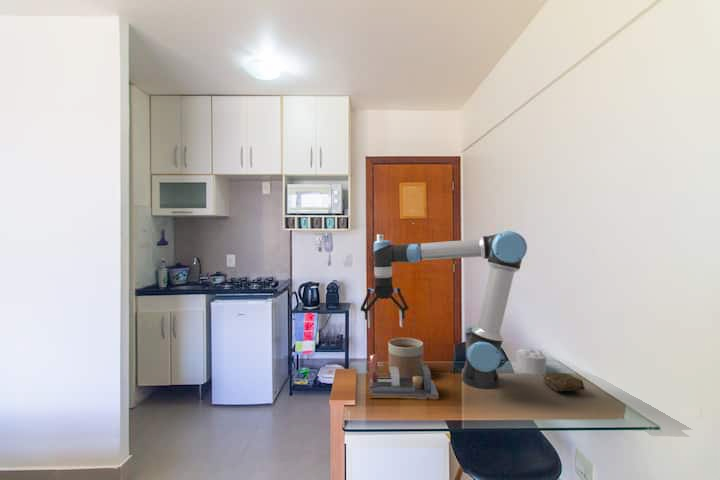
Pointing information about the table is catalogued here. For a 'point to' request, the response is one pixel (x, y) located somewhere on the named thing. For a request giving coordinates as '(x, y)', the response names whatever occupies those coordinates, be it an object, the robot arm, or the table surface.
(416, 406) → the table surface
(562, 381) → the stone
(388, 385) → the press handle
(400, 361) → the planter
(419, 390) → the press bed
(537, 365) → the lumpy-topped squat cylinder
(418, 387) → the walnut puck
